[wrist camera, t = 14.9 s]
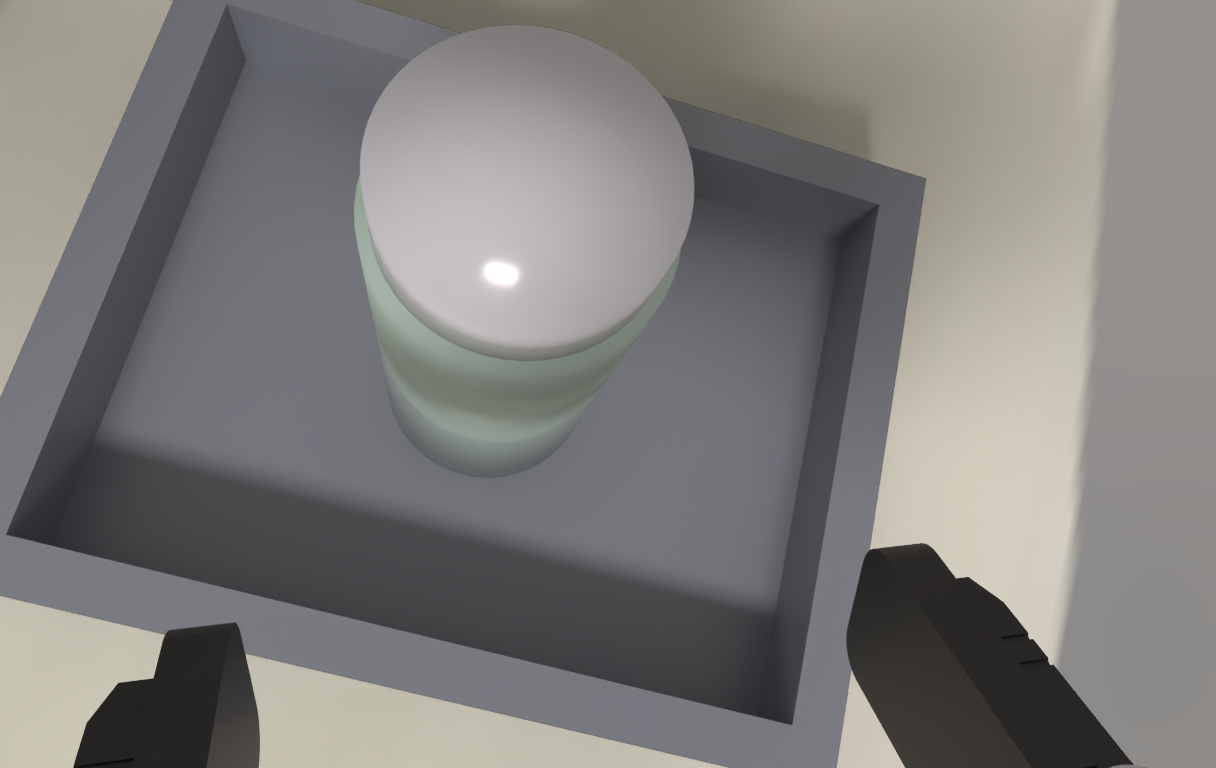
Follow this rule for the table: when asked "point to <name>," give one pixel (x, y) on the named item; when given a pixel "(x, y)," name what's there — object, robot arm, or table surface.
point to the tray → (413, 484)
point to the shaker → (514, 237)
